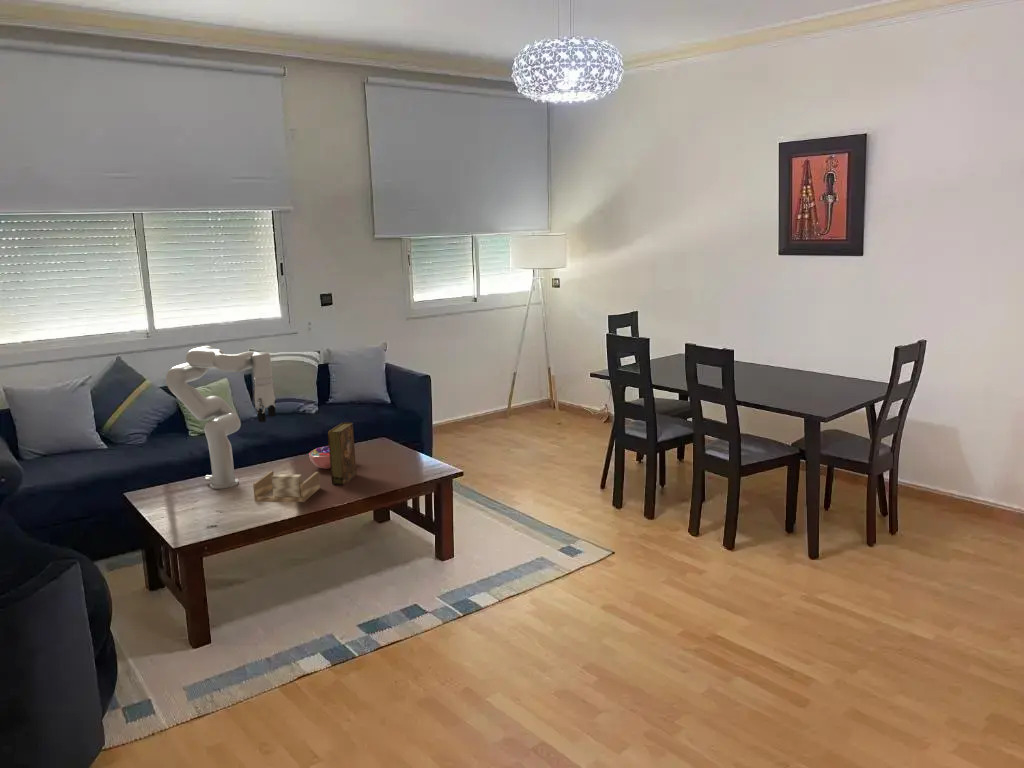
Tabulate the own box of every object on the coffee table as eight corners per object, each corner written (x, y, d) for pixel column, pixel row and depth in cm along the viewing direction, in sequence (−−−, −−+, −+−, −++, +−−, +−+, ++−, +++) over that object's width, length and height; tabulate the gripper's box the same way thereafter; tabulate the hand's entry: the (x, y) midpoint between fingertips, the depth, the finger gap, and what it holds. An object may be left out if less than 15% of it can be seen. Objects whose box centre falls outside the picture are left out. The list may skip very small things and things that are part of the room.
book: (346, 473, 364) (342, 422, 359) (357, 474, 363) (353, 422, 358) (332, 485, 348) (327, 431, 343) (343, 485, 347) (339, 432, 342)
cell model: (303, 468, 375) (301, 445, 372) (339, 458, 388) (338, 437, 385) (320, 475, 362) (318, 452, 360) (357, 465, 375) (355, 443, 373)
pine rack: (254, 501, 331) (252, 483, 329) (272, 487, 347) (270, 470, 346) (304, 502, 328) (302, 484, 326) (319, 488, 344) (318, 471, 342)
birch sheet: (273, 500, 331) (271, 476, 329) (276, 498, 334) (274, 474, 332) (300, 501, 329) (298, 476, 327) (303, 498, 332) (301, 474, 330)
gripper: (264, 376, 345) (268, 414, 348) (246, 385, 328) (250, 424, 332) (280, 376, 344) (283, 414, 347) (262, 385, 327) (266, 424, 330)
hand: (267, 419), depth 339 cm, fingers open, 9 cm apart
